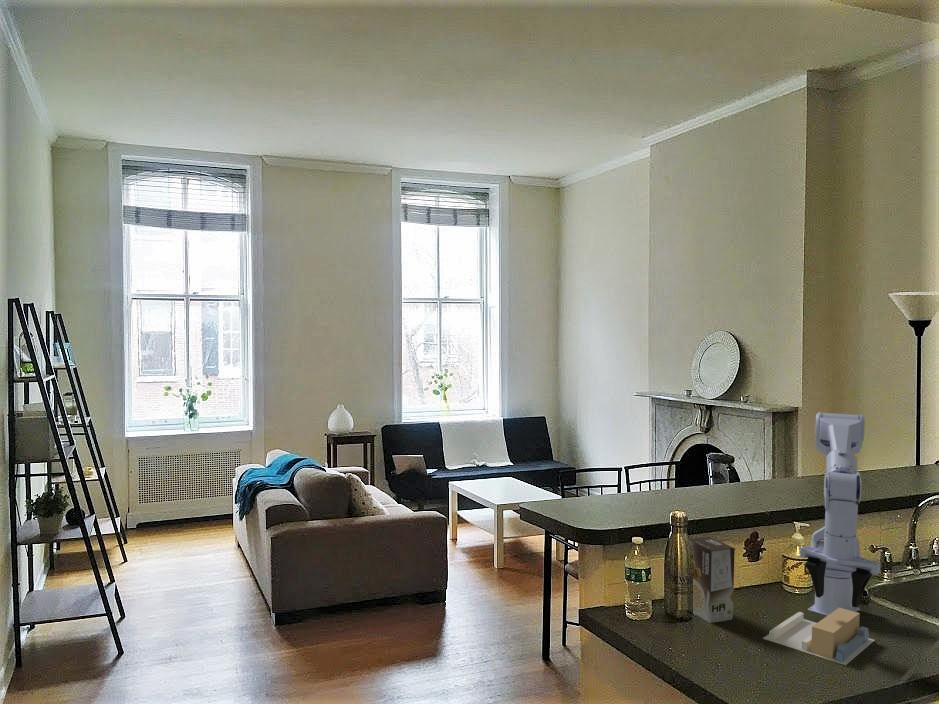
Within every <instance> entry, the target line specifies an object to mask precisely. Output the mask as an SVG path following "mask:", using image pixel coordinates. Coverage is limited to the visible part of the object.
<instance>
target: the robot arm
mask: <svg viewBox="0 0 939 704" xmlns="http://www.w3.org/2000/svg"><path fill="white" fill-rule="evenodd" d="M865 422H866V421H865V416H863V414H845V413H831V412H830V413H829V412H822V411H819V412H817V413H816V414H815V426H814V427H815V429H814V437H815V446H816V450H817V451H819V452H821V453H823V454H824V457H825V465H826V467H825V468H826V470H825V473H824V477H823V478H824V479H823V497H824V509H825V514H824V526H823V527H821V528H819V529H818V530H815V531H813V534H811V542H810V546H807V545H803V546H801V547H800V554H799V557H800V558H802V559H803V558H804V559H807V560H806V561H805V567H806V569H807V570H808V571H807V572H808V573H809V575H810V578H811V580H812V583H813V587H814V593H815V594H814V604H813V605H811V606H810V607H808V608H807V610H809V611H810V612H814V613H818V614H821V615H824V616H828V615H829V614H831V613H832V612H834V611H835V610H836V609H838V608H843V609H846V610H850V611H854V612H858V611H861V610H860V607H859V606H860V603H861V600H862V596H863V594H864V591H865V589H866V586H867V585H868V584H869V581H870V579H871V578H872V577H873V576H877V575H879V574H881V567H882V566H881V562H876V561H873V560H870V559H868V558H865V557H863V556H862V557H861V548H860V540H859V538H858V537H857V536H858V513H859V509H858V508H859V504H860V502H861V500H862V491H863V490H862V488H863V485H862V476H861V474H860V471H858V459H857V456H856V454H858V453H861V449H862V448H863V442H864V439H865V429H866V427H865V426H866V425H865V424H866V423H865ZM857 501H858V502H857Z"/></svg>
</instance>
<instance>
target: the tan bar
mask: <svg viewBox="0 0 939 704" xmlns="http://www.w3.org/2000/svg"><path fill="white" fill-rule="evenodd" d="M859 628H860V612H858V611H856V612H854V611H850V610H846V609H843V608H838V609H836V610H835V611H834V612H832V613H831V614H829V615H825V616H824V618H822V619H821V620H819V621H818V622H816V624H815V625H814V626H812V640H811V652H813V653H816V654H819V655H823V656H826V657H829V658H834V657H835V656H836V652H837V648H838V645H839V644H840V643H841V642H842V643H845V644H847V643H848V642H850V641H851V640H852V639H853V638H854V637H856V636H857V635H858V629H859Z"/></svg>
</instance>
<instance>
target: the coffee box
mask: <svg viewBox="0 0 939 704" xmlns="http://www.w3.org/2000/svg"><path fill="white" fill-rule="evenodd" d="M688 539H689V542H690V545H691V549H692V555H693V570H694V576H693V614H694V615H693V614H692V615H693V616H697V617H700V618H701V619H703V620H705V621H706V622H707V623H709V624H711V623H718V622H725V621H730V620H733V617H734V616H733V615H734V614H733V613H734V591H735V589H734V588H735V587H734V585H735V584H734V581H735V557H736V556H735V553H736V549H735V547H733V546H731V545H728V544H727V543H724V542H721V540H720V541H719V540H717V539H715V538H713V537H711V536H702V537H701V536H700V537H694V538H688Z"/></svg>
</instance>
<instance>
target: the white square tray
mask: <svg viewBox="0 0 939 704" xmlns="http://www.w3.org/2000/svg"><path fill="white" fill-rule="evenodd" d="M804 617H805V616H804V612H801V611H798V612H796V613H795V614H793V615H792V616H790V617H788V618H787V619H785V620H784V621H782V622H781V623H779V624H778V625H776V626H775V627H774V628H772V629H770V630H769V634H767V635H765V636H764V637H762V639H763V640H766V641H770V642H772V643H775V644H778V645H782V646H785V647H788V648H791V649H795V650H797V651H800V652H803V653H807V654H809V655H813V656H816V657H818V658H822V659H825V660H828V661H831V662H835V663H837V664H841V665H844V666H847V665H848V664H849V663H850V662H851V661H852V660H854V659H855V658H856V657H857V656H858V655H859V654H860V653H862V652H863V651H864V650H865V649H867V648H868V647H869V646H870V645H871V644H872V643H873V642H875V641H876V640H875V639H873V638H870V637H869V635H870V634H869V633H870V632H869V627H865V626H861V627H860V626H859V629H858V635H857V636H856V637H854V638H853V639H852V640H851V641H850V642H848V643H847V644H845V643H842V642H841V643H840V644H839V645H838V648H837V652H836V656H835V657H834V658H829V657H826V656H823V655H819V654H816V653H813V652H811V640H812V626H814V625H815V624H816V623H817V622H814V621H813V620H812V621H811V620H808V619H806V618H804Z"/></svg>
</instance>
